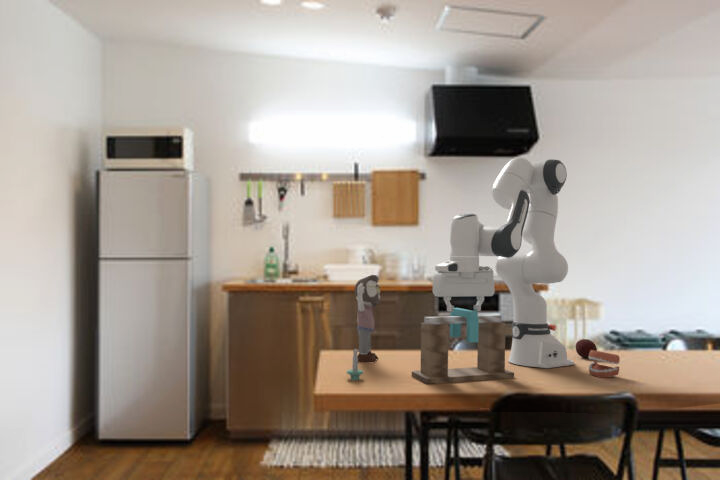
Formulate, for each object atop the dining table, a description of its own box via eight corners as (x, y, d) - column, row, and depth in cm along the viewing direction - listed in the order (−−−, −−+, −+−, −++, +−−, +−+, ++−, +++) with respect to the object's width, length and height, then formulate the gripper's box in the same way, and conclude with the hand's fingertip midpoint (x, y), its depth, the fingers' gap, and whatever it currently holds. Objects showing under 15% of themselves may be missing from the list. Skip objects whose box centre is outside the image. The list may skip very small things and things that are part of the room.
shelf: (495, 370, 167) (495, 313, 168) (514, 377, 158) (514, 317, 159) (411, 376, 157) (412, 315, 158) (426, 384, 148) (427, 319, 148)
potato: (584, 360, 187) (584, 341, 187) (570, 356, 194) (571, 337, 195) (601, 360, 189) (601, 340, 189) (587, 355, 196) (588, 337, 196)
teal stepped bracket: (458, 336, 164) (458, 307, 164) (478, 342, 153) (478, 311, 153) (449, 336, 163) (450, 307, 163) (469, 342, 152) (469, 311, 152)
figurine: (373, 367, 169) (375, 275, 170) (345, 365, 171) (347, 275, 172) (382, 356, 187) (383, 274, 188) (356, 355, 189) (358, 273, 190)
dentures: (581, 373, 165) (581, 348, 165) (595, 371, 169) (595, 347, 169) (605, 379, 158) (606, 353, 158) (620, 377, 161) (620, 351, 161)
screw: (351, 376, 155) (366, 378, 153) (343, 380, 151) (358, 382, 149) (351, 346, 156) (366, 348, 154) (344, 349, 151) (359, 350, 149)
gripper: (487, 266, 165) (487, 309, 165) (430, 265, 158) (429, 310, 158) (499, 266, 159) (498, 311, 159) (440, 266, 152) (439, 313, 152)
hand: (463, 311), depth 158 cm, fingers open, 8 cm apart
